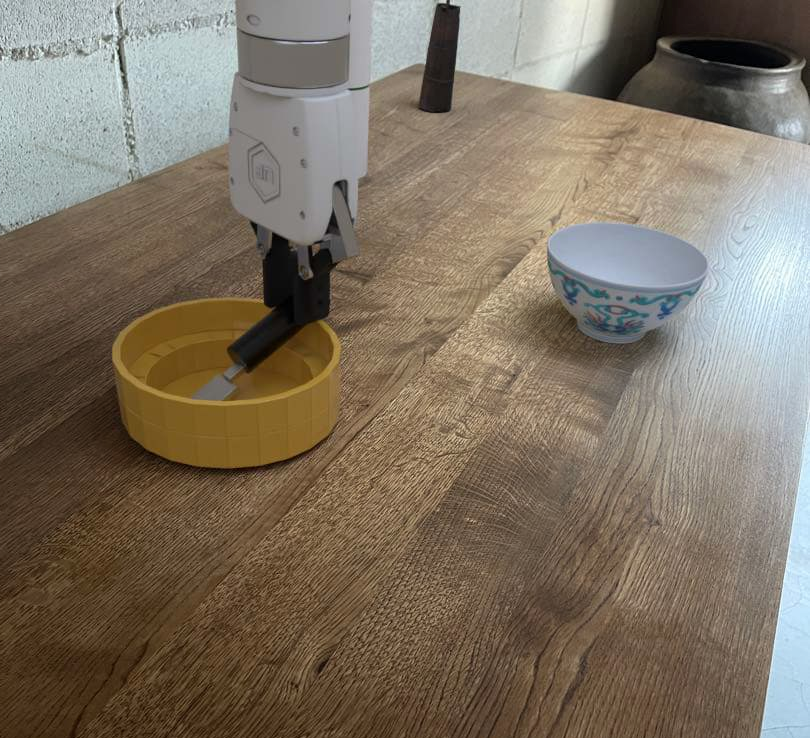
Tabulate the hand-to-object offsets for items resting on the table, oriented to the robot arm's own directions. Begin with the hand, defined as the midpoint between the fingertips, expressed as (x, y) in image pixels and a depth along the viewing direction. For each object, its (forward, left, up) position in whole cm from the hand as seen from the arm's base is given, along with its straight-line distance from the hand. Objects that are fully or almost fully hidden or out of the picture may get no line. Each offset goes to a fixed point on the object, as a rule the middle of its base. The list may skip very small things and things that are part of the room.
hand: (296, 309), depth 74 cm
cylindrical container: (-40, +39, -7) cm, 56 cm away
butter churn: (-54, +71, -7) cm, 90 cm away
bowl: (0, -7, -7) cm, 10 cm away
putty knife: (0, -4, -4) cm, 6 cm away
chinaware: (+10, +31, -7) cm, 34 cm away
